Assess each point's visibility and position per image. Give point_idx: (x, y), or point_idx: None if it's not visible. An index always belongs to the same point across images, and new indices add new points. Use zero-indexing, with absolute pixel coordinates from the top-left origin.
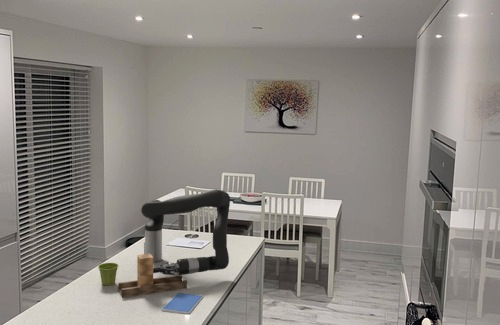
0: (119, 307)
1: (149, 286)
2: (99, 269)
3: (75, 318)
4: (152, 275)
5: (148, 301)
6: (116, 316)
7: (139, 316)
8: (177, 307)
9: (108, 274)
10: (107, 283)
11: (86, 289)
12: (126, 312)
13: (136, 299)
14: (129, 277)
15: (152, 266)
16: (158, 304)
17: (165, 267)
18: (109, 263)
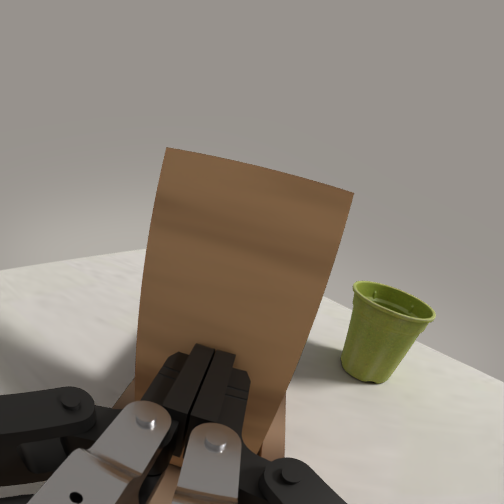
0: (105, 298)
1: (123, 394)
2: (374, 291)
3: (141, 253)
4: (139, 362)
5: (46, 359)
6: (66, 271)
7: (6, 282)
8: None
9: (352, 314)
10: (342, 351)
11: (320, 320)
12: (57, 287)
13: (112, 353)
14: (428, 436)
15: (147, 268)
16: None
17: (85, 450)
18: (430, 312)
